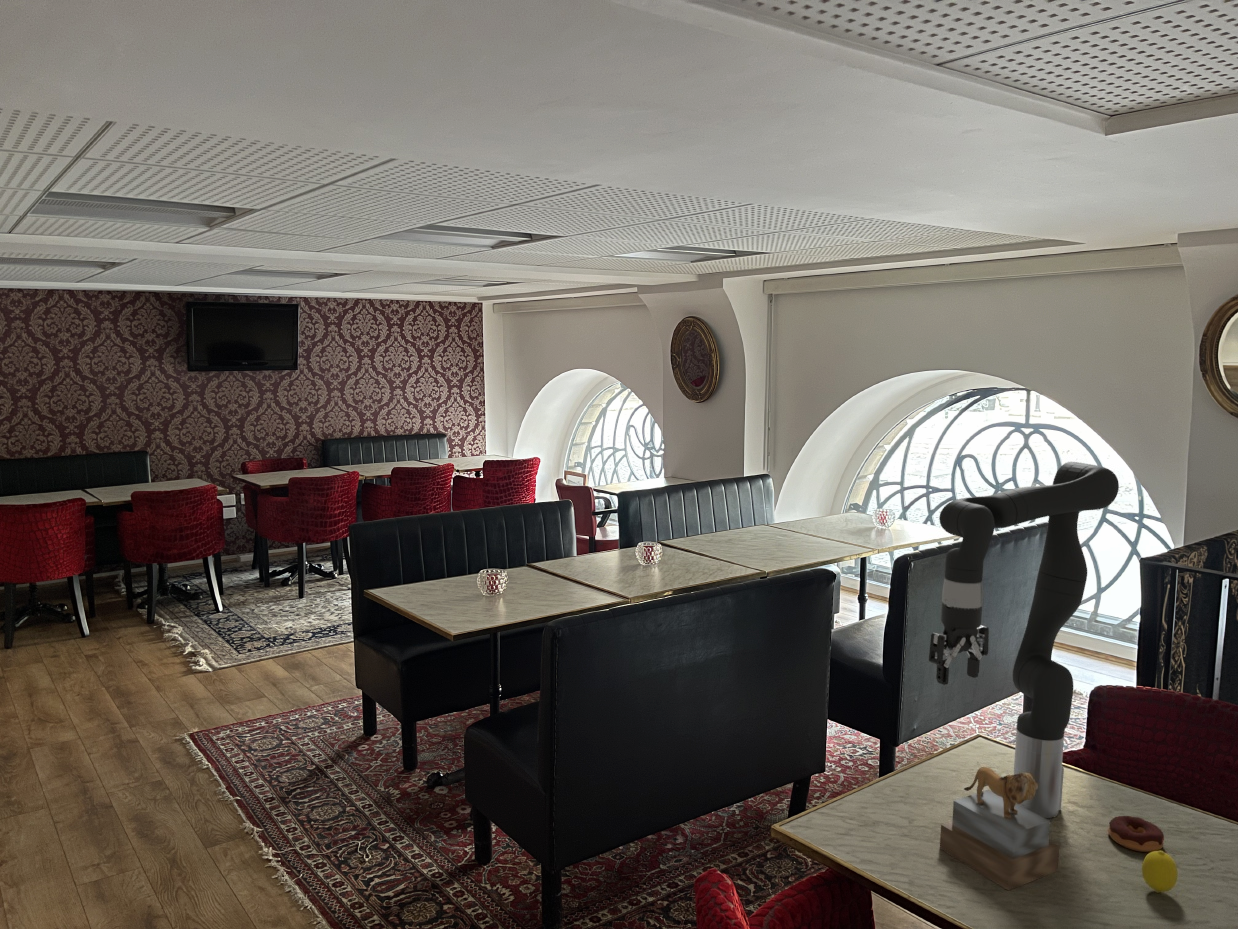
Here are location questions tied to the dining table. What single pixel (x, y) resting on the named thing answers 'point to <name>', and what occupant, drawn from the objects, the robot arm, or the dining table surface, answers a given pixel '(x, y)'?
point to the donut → (1136, 833)
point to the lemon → (1159, 871)
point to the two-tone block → (1000, 841)
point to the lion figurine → (1005, 788)
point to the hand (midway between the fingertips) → (957, 680)
